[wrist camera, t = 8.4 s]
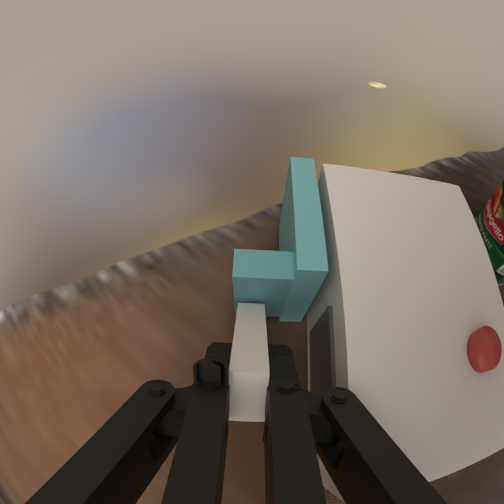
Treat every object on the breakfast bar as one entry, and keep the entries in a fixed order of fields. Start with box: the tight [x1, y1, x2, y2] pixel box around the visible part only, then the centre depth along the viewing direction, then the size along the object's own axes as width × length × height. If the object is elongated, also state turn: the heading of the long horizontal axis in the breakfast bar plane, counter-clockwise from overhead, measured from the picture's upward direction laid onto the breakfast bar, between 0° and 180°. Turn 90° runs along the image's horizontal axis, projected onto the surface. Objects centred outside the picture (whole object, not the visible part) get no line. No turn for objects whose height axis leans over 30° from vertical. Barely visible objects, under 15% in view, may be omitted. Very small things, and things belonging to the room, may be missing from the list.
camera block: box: [307, 164, 504, 503], centre depth 16 cm, size 11×20×9 cm, turn 178°
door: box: [232, 157, 329, 322], centre depth 19 cm, size 4×8×8 cm, turn 178°
